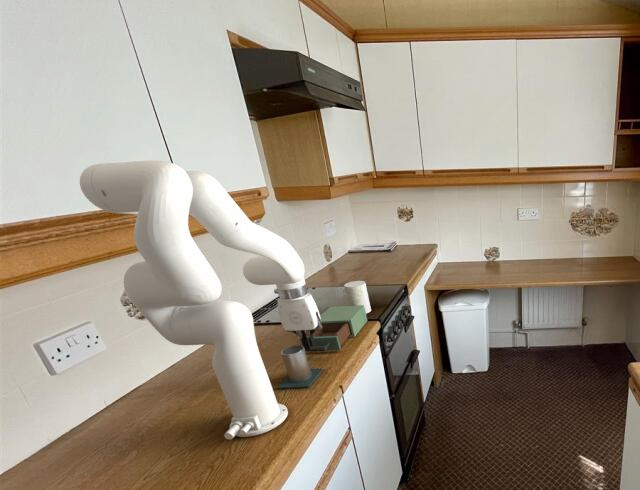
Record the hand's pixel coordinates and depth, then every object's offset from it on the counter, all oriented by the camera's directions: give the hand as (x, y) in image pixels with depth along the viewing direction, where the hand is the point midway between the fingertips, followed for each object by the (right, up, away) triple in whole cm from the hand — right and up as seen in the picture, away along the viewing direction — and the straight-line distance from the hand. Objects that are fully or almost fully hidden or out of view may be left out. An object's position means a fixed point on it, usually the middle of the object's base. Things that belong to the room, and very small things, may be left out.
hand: (310, 347), depth 126 cm
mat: (+1, -9, -7) cm, 12 cm away
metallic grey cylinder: (+1, -8, -7) cm, 11 cm away
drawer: (0, +1, +12) cm, 12 cm away
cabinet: (0, +6, +26) cm, 26 cm away
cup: (0, +14, +42) cm, 44 cm away
